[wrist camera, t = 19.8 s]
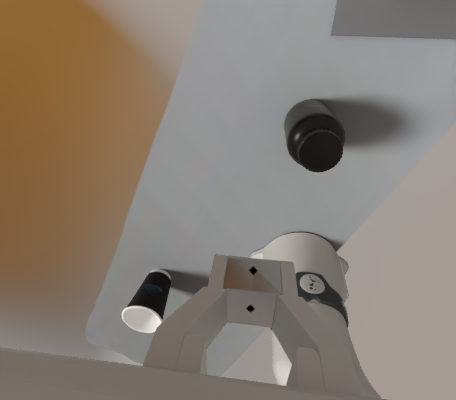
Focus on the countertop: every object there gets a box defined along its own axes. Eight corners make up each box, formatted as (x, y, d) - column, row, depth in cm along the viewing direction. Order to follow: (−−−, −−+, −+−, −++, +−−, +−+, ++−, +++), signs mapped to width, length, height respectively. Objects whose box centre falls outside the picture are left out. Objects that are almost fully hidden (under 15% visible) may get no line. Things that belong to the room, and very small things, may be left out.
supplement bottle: (326, 90, 37) (349, 112, 27) (335, 136, 40) (359, 171, 30) (277, 108, 39) (282, 134, 29) (290, 151, 42) (298, 188, 32)
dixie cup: (154, 291, 64) (135, 335, 54) (136, 267, 60) (113, 310, 51) (183, 285, 61) (169, 330, 52) (167, 260, 58) (148, 303, 48)
